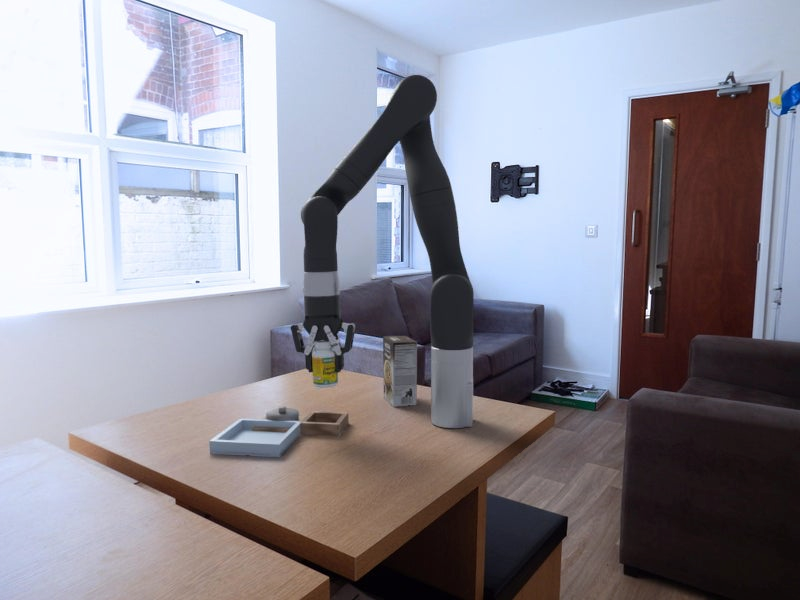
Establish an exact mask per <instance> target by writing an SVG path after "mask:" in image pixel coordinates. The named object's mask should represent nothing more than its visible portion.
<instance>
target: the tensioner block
mask: <svg viewBox="0 0 800 600" xmlns="http://www.w3.org/2000/svg"><path fill="white" fill-rule="evenodd" d="M299 412H300V411H299V410H298V409H296V408H291V407H287V406H285V405H283V406H282V405H281V406H279V407H278V408H274V409H271V410H269V411H267V412H266V413H265V417H264V418H263V419H264V420H273V421H285V420H287V421H302V422H300V423H301V435H302V436H305V435H306V436H322V437H323V436H325V437H326V436H327V437H340V436H341V434H342V433H343V432H344V430H345V429H346V428H347V426H348V425H349V423H350V422H349V421H350V420H349V412H348V411H347V412H345V411H325V410H323V411H321V410H311V411H310V412H309V413H308V414H300V413H299ZM289 429H290V428H276V427H253V428H252V431H268V432H287V431H288V430H289ZM301 435H300V436H301Z"/></svg>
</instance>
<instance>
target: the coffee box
mask: <svg viewBox="0 0 800 600" xmlns="http://www.w3.org/2000/svg"><path fill="white" fill-rule="evenodd" d="M382 352H383V355H382V357H383V358H382V359H383V362H382V363H383V398H384V399H385V400H386V401H387V402H388V403H389V404H390V406H392V407H394V408H397V407H398V406H399V407H407V406H408V405H410V406H416V405H415V404H417V402H418V401H417V400H418V399H417V397H418V395H417V394H418V393H417V392H418V391H417V389H418V388H417V387H418V386H417V385H418V384H417V382H418V381H417V380H418V378H417V377H418V373H417V372H418V341H417V340H414V339H412V338H410V337H409V336H407V335H386V336H382ZM399 407H398V408H399ZM408 407H409V406H408Z"/></svg>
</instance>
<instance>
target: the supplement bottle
mask: <svg viewBox="0 0 800 600" xmlns="http://www.w3.org/2000/svg"><path fill="white" fill-rule="evenodd" d="M335 356H336V352H335V350H334V348H333V346H332V345H331V343H330V341H324V340H321V341H315V342H314V350H313V353H312V368H313V372H312V385H313V386H314V387H315V388H319V389H327V388H333V387H336V386H337V385H338V384H339V372H336V363H335Z"/></svg>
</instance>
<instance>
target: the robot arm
mask: <svg viewBox="0 0 800 600" xmlns="http://www.w3.org/2000/svg"><path fill="white" fill-rule="evenodd" d="M437 101H438V92H437V89H436V86H435V84H434V83H433V82H432V81H431V80H430V79H429V78H428V77H426V76H424V75H421V74H411V75H409V76H408V75H407V76H406V77H404V78H402V79H401V80H400V81H399V82H398V83H397V85H396V86H395V88H394V89H393V92H392V94H391V96H390V99H389V101H388V103H387V104H386V106H385V108H384V109H383V111H382V112H381V114H380V115H379V116H378V118H376V120H375V122H374V123H373V124H372V126H371V127H370V128H369V129H367V131H366V133H365V134H364V135H363V136H361V138H360V139H359V140H358V141H357V142H356V143H355V144H354V146H352V148H351V149H350V150H349V151H348V152H347V154H346V155H345V156H344V157H342V159H341V160H340V162H339V163H338V164H337V165H336V166H335V167H334V169H333V170H332V171H331V172H330V173H329V176H328V177H327V179H326V180H325V181H324V182H323V184H322V185H321V186H320V187H318V189H317V190H316V191H315V192H313V194H312V195H311V196H310V197H309V199H308V200H307V201H305V202H304V204H303V206H302V208H301V211H300V219H301V222H302V224H303V228H304V230H303V231H304V248H303V275H304V276H303V282H302V283H303V288H302V291H303V304H304V321H303V322H300V323H294V324H292V325H291V326H290V331H291V335H292V340H293V344H294V347H295V348H294V349H295V351H296V352H297V353H301V354H303V355H304V359H305V369H306V370H307V371H308V373H313V368H312V353H313V352H314V350H315V347H314V342H315V341H321V340H324V341H330V343H331V345H332V346H333V348H332V349H333V350H335V352H336V356H335V363H336V372H338V373H341V372H342V370H343V369H344V368H345V358H344V357H345V356H344V355H345V354H346V353H349V352H350V351H351V350H352V349H353V343H354V338H355V333H356V326H357V325H356V323H354V322H351V323H347V322H344V321H343V320H342V317H341V295H340V294H341V292H340V291H341V290H340V278H339V270H338V269H339V268H338V252H337V241H338V228H339V227H338V222H339V221H338V220H339V219H338V218H339V217H338V216H339V215H340V213H341V212H342V211H343V209H344V208H345V207H346V206H347V205H348V203H349V202H350V201H352V200H353V199H354V198H355V197H356V196H358V195H359V193H360V192H362V189H364V187H366V185H367V183H369V181H370V180H371V179H372V178H373V176H375V173H376V172H377V171H378V170H379V168H380V167H381V166H382V164H383V163H384V162H385V160H386V158H388V156H389V154H390V153H391V152H392V150H393V149H394V148H395V146H396V145H397V144H398V143H399V144H400V147H401V152H402V155H403V162H404V169H405V176H406V181H407V187H408V193H409V198H410V202H411V203H410V204H411V208H412V211H413V215H414V219H415V222H416V226H417V228H418V231H419V232H418V233H419V234H420V237H421V239H422V242H423V244H424V246H425V249H426V252H427V255H428V256H427V257H428V259H429V264H430V271H431V284H432V287H431V289H430V295H429V329H430V331H429V333H430V334H429V335H430V345H431V347H430V361H431V362H430V366H431V367H430V369H431V370H430V381H431V382H430V397H431V398H430V416H431V417H430V419H431V421H430V422H431V424H432V425H435V426H437V427H439V428H446V429H460V428H468V427H469V428H470V427H471V428H472V427H473V421H474V376H473V375H474V299H475V298H474V297H475V296H474V288H473V284H472V281H471V279H470V277H469V275H468V272H467V268H466V265H465V264H466V263H465V261H464V258H463V254H462V249H461V244H460V232H459V222H458V215H457V214H458V213H457V209H456V206H457V205H456V202H455V197H454V192H453V188H452V184H451V180H450V177H449V175H448V173H447V170H446V168H445V166H444V163H443V162H442V161H441V159H440V157H439V154H438V152H437V150H436V146H435V142H434V138H433V131H432V126H431V125H432V123H431V114H433V112H434V110H435V107H436V106H437ZM342 328H343V332H344V334H346V335H345V340H344V346H343V344H342V341H341V338H340V336H339V332H340V331H341V329H342ZM304 330H305V331H306V332H307V334H308V335H309V336H308V339H307V341H306V345H305V344H304V343H305V342H304V339H303V334H302V333H303V332H304Z"/></svg>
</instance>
